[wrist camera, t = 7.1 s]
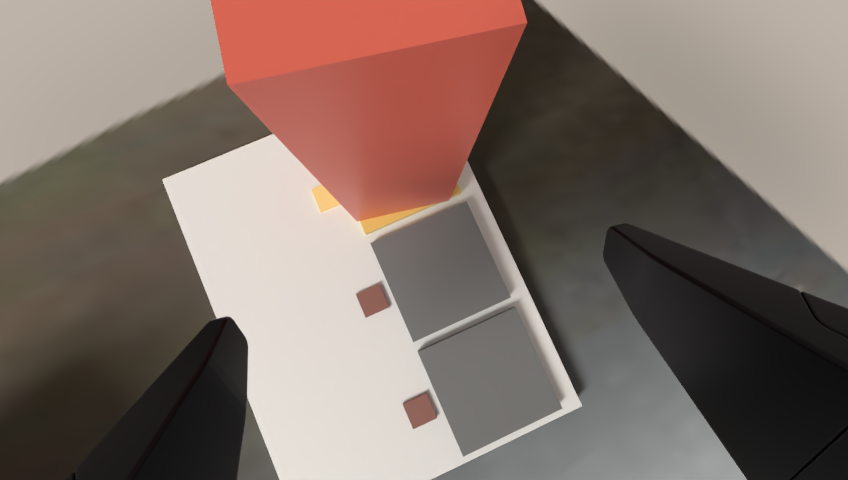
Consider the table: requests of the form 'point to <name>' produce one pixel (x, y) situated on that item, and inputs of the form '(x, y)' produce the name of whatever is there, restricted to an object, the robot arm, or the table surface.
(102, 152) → the table surface
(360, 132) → the tall red square pillar
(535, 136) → the table surface
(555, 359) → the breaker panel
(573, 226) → the table surface
